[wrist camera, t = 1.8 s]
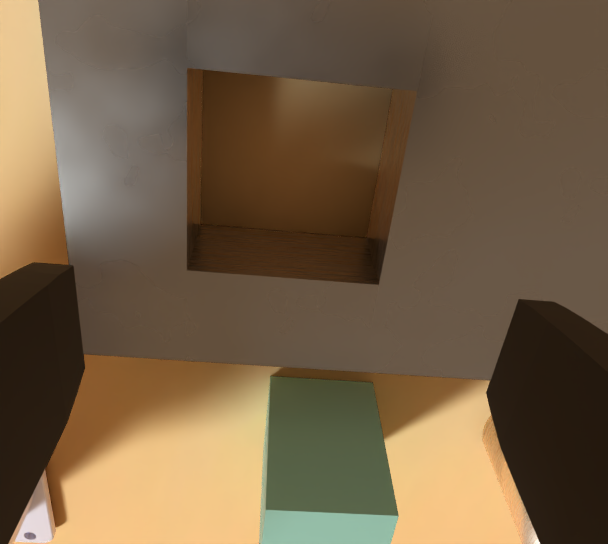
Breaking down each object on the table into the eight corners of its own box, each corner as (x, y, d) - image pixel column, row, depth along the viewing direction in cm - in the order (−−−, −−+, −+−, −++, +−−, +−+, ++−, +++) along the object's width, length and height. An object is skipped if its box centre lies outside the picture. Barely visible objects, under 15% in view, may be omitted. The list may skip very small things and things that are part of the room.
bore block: (105, 300, 20) (79, 353, 18) (72, -106, 14) (25, -116, 12) (597, 335, 22) (639, 389, 19) (755, -24, 16) (849, -15, 13)
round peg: (472, 461, 25) (520, 599, 20) (497, 390, 23) (558, 523, 18) (561, 465, 25) (632, 602, 20) (593, 396, 23) (682, 529, 18)
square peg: (263, 449, 24) (257, 589, 19) (270, 375, 22) (265, 509, 17) (357, 453, 24) (376, 593, 19) (372, 382, 22) (398, 515, 17)
